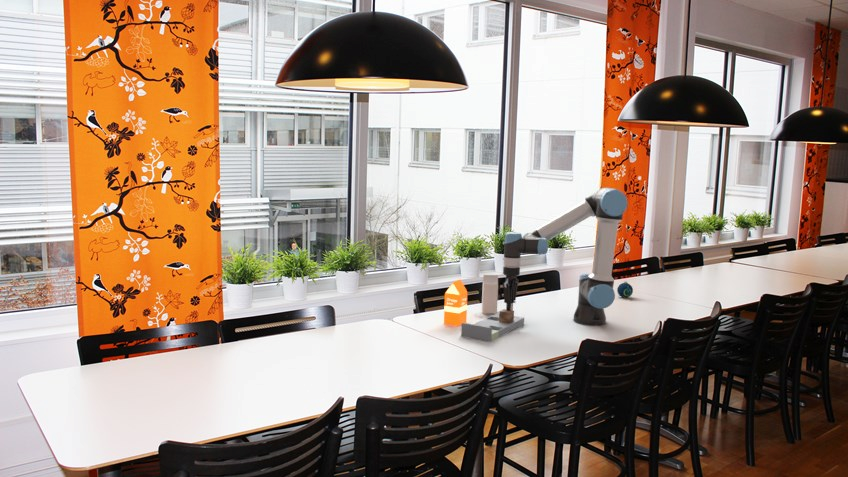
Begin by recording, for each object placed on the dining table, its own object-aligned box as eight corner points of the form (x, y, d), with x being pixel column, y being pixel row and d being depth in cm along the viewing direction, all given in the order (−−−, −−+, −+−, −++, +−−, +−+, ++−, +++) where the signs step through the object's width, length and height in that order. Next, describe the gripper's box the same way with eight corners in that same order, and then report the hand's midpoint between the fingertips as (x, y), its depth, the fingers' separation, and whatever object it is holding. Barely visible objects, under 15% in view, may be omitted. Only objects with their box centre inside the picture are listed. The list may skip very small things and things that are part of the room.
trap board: (523, 323, 311) (524, 311, 310) (490, 342, 280) (490, 328, 279) (496, 319, 318) (497, 307, 317) (461, 336, 287) (461, 322, 286)
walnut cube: (513, 321, 303) (514, 310, 302) (509, 323, 299) (509, 312, 298) (503, 319, 305) (504, 309, 305) (498, 322, 301) (499, 311, 301)
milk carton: (496, 314, 328) (498, 276, 325) (482, 313, 328) (483, 276, 325) (495, 310, 335) (497, 273, 332) (481, 310, 335) (483, 273, 332)
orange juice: (443, 323, 307) (444, 281, 305) (451, 319, 315) (453, 278, 313) (458, 326, 304) (460, 283, 301) (466, 321, 312) (468, 280, 309)
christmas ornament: (616, 298, 370) (617, 280, 368) (616, 295, 378) (618, 278, 376) (632, 299, 367) (633, 282, 366) (632, 296, 375) (633, 279, 374)
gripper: (510, 263, 309) (507, 312, 312) (498, 267, 298) (495, 318, 301) (525, 265, 305) (522, 315, 308) (513, 269, 294) (510, 321, 297)
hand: (509, 316), depth 305 cm, fingers closed
